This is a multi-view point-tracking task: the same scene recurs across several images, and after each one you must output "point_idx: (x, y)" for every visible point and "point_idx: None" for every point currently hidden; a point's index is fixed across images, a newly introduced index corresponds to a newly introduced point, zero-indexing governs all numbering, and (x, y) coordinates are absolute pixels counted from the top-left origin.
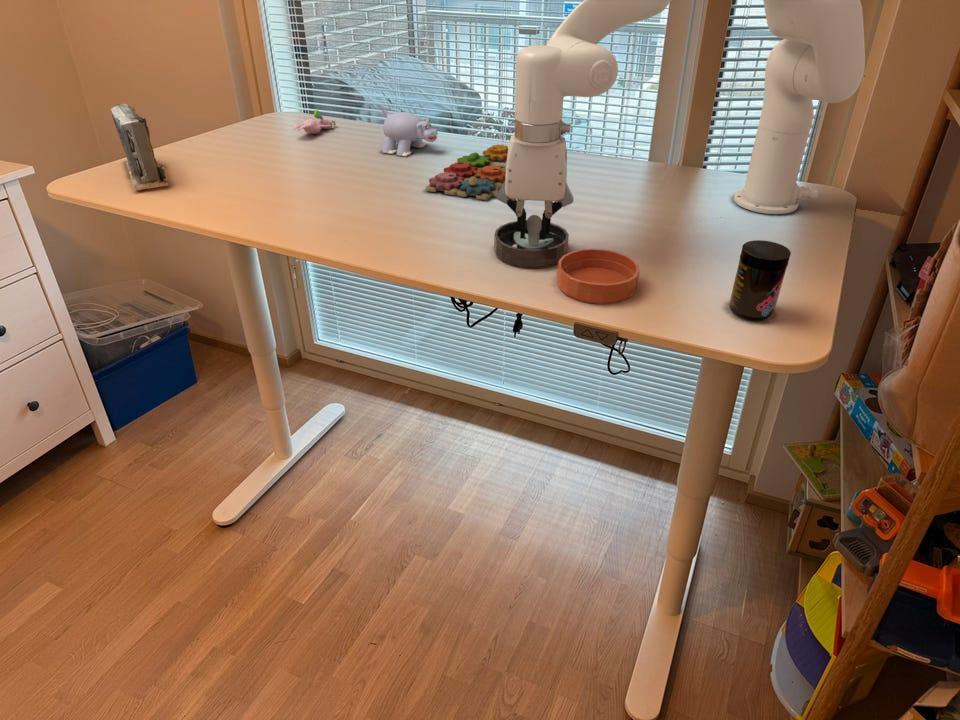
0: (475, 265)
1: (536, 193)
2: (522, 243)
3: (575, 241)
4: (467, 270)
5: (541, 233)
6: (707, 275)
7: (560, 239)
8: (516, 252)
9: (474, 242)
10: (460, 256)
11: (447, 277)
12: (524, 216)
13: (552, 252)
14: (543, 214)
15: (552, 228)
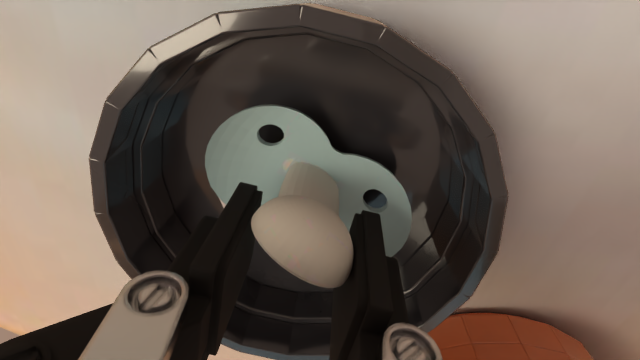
0: (97, 250)
1: None
2: (258, 189)
3: (563, 81)
4: (79, 276)
5: (333, 302)
6: None
7: (461, 171)
8: None
9: (34, 44)
10: (20, 181)
11: (31, 305)
12: (209, 341)
13: None
14: (354, 329)
15: (448, 105)
